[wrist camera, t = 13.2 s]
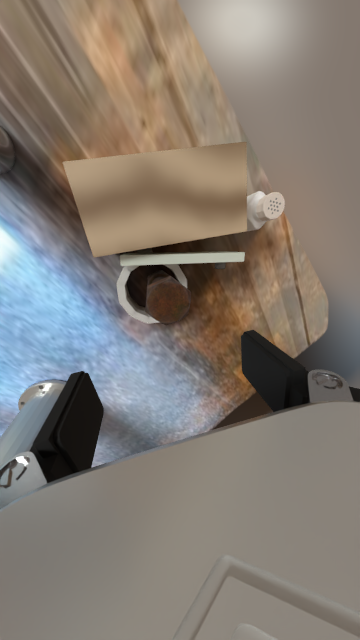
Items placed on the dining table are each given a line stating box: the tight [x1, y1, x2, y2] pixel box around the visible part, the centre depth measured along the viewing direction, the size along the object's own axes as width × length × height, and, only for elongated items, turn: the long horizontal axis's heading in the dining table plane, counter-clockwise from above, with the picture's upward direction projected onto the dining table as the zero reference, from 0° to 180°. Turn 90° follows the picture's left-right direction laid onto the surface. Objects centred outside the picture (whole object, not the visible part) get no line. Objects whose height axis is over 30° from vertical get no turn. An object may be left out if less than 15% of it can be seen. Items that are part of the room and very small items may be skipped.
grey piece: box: [117, 251, 245, 323], centre depth 29 cm, size 12×18×8 cm, turn 91°
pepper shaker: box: [245, 191, 285, 232], centre depth 29 cm, size 4×4×10 cm
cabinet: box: [63, 142, 247, 312], centre depth 28 cm, size 21×19×12 cm
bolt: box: [145, 270, 191, 325], centre depth 28 cm, size 6×5×15 cm
